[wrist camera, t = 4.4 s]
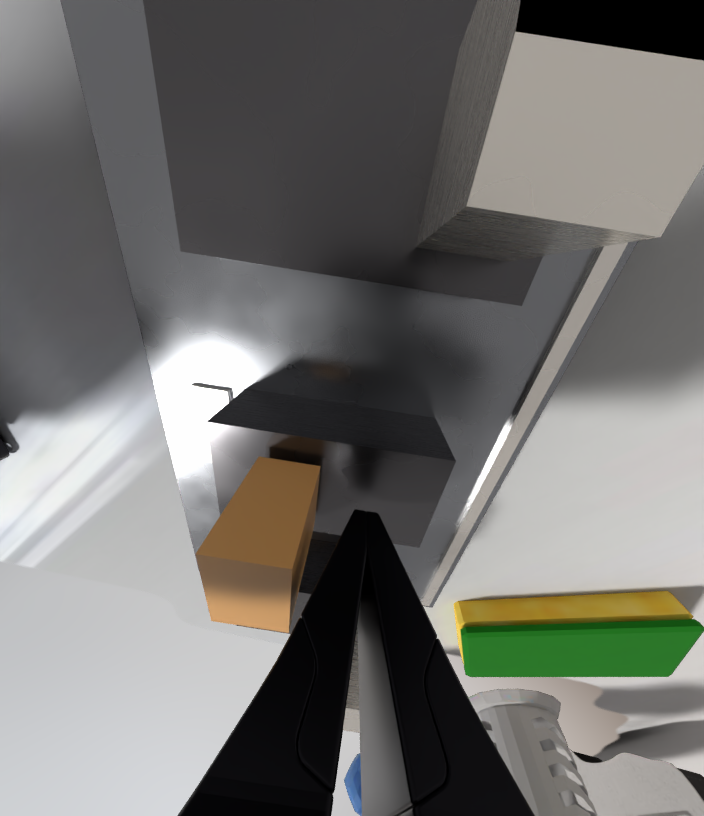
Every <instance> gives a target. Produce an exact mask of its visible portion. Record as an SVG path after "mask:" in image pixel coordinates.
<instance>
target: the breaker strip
mask: <svg viewBox="0 0 704 816" xmlns="http://www.w3.org/2000/svg"><path fill="white" fill-rule="evenodd" d="M61 4H62V8H63V12H64V17H65V21H66V25H67V29H68V33H69V37H70V41H71V45H72V50H73V54H74V58H75V62H76V66H77V70H78V74H79V78H80V82H81V87H82V91H83V95H84V99H85V103H86V107H87V111H88V115H89V120H90V124H91V128H92V132H93V136H94V140H95V144H96V148H97V153H98V157H99V161H100V165H101V169H102V173H103V177H104V181H105V186H106V190H107V194H108V198H109V202H110V206H111V210H112V214H113V218H114V223H115V227H116V231H117V235H118V239H119V243H120V247H121V251H122V256H123V260H124V264H125V268H126V272H127V276H128V280H129V284H130V289H131V293H132V297H133V301H134V305H135V309H136V313H137V317H138V322H139V326H140V330H141V334H142V338H143V342H144V346H145V350H146V354H147V359H148V363H149V367H150V371H151V375H152V379H153V383H154V387H155V392H156V396H157V400H158V404H159V408H160V412H161V416H162V420H163V425H164V429H165V433H166V437H167V441H168V445H169V449H170V453H171V458H172V462H173V466H174V470H175V474H176V478H177V482H178V486H179V490H180V495H181V499H182V503H183V507H184V511H185V515H186V519H187V523H188V528H189V532H190V536H191V540H192V544H193V548H194V552H195V556H196V552H197V551H198V549H199V548H200V546H201V545H202V543H203V542H204V540H205V539H206V537H207V535H208V534H209V532H210V531H211V529H212V528H213V526H214V525H215V523H216V522H217V520H218V519H219V517H220V515H221V514H222V512H223V511H224V509H225V508H226V506H227V505H228V503H229V502H230V500H231V499H232V497H233V495H234V494H235V492H236V491H237V489H238V488H239V486H240V485H241V483H242V482H243V480H244V478H245V477H246V475H247V474H248V472H249V471H250V469H251V468H252V466H253V465H254V463H255V462H256V460H257V458H258V457H266V458H272V459H278V460H285V461H291V462H297V463H304V464H310V465H316V466H321V467H320V477H319V486H318V495H317V505H316V514H315V523H314V528H313V532H312V537H311V541H310V545H309V549H308V554H307V558H306V562H305V566H304V571H303V575H302V579H301V583H300V588H299V592H298V596H297V600H296V604H295V609H294V613H293V617H292V621H291V626H290V630H289V633H288V634H291V633H292V631H293V629H294V627H295V625H296V623H297V621H298V619H299V618H301V613H302V611H303V609H304V608H305V606H306V604H307V602H308V600H309V598H310V596H311V594H312V592H313V590H314V588H315V586H316V584H317V582H318V580H319V578H320V576H321V574H322V572H323V570H324V568H325V566H326V564H327V562H328V560H329V558H330V556H331V554H332V552H333V550H334V548H335V546H336V544H337V542H338V540H339V538H340V536H341V534H342V532H343V530H344V529H345V527H346V525H347V523H348V521H349V519H350V517H351V515H352V513H353V511H354V510H355V509H358V510H364V511H371V512H377V513H378V514H379V515H380V517H381V519H382V521H383V524H384V526H385V528H386V530H387V532H388V534H389V536H390V538H391V540H392V542H393V544H394V547H395V549H396V551H397V553H398V555H399V557H400V559H401V561H402V563H403V565H404V567H405V570H406V572H407V574H408V576H409V578H410V580H411V582H412V584H413V586H414V588H415V590H416V593H417V595H418V597H419V599H420V601H421V603H422V605H423V606H426V607H433V605H434V603H435V602H436V600H437V598H438V596H439V595H440V593H441V591H442V589H443V587H444V586H445V584H446V582H447V580H448V579H449V577H450V575H451V573H452V571H453V570H454V568H455V566H456V564H457V563H458V561H459V559H460V557H461V555H462V554H463V552H464V550H465V548H466V546H467V545H468V543H469V541H470V539H471V538H472V536H473V534H474V532H475V530H476V529H477V527H478V525H479V523H480V522H481V520H482V518H483V516H484V514H485V513H486V511H487V509H488V507H489V506H490V504H491V502H492V500H493V498H494V497H495V495H496V493H497V491H498V490H499V488H500V486H501V484H502V482H503V481H504V479H505V477H506V475H507V473H508V472H509V470H510V468H511V466H512V465H513V463H514V461H515V459H516V457H517V456H518V454H519V452H520V450H521V449H522V447H523V445H524V443H525V441H526V440H527V438H528V436H529V434H530V433H531V431H532V429H533V427H534V425H535V424H536V422H537V420H538V418H539V417H540V415H541V413H542V411H543V409H544V408H545V406H546V404H547V402H548V400H549V399H550V397H551V395H552V393H553V392H554V390H555V388H556V386H557V384H558V383H559V381H560V379H561V377H562V376H563V374H564V372H565V370H566V368H567V367H568V365H569V363H570V361H571V360H572V358H573V356H574V354H575V352H576V351H577V349H578V347H579V345H580V343H581V342H582V340H583V338H584V336H585V335H586V333H587V331H588V329H589V327H590V326H591V324H592V322H593V320H594V319H595V317H596V315H597V313H598V311H599V310H600V308H601V306H602V304H603V303H604V301H605V299H606V297H607V295H608V294H609V292H610V290H611V288H612V287H613V285H614V283H615V281H616V279H617V278H618V276H619V274H620V272H621V270H622V269H623V267H624V265H625V263H626V262H627V260H628V258H629V256H630V254H631V253H632V251H633V249H634V247H635V246H636V244H637V242H638V241H640V240H646V239H653V238H659V237H661V235H662V234H663V232H664V230H665V229H666V227H667V225H668V224H669V222H670V220H671V219H672V217H673V215H674V213H675V212H676V210H677V208H678V207H679V205H680V203H681V202H682V200H683V198H684V197H685V195H686V193H687V192H688V190H689V188H690V186H691V185H692V183H693V181H694V180H695V178H696V176H697V175H698V173H699V171H700V170H701V168H702V166H703V165H704V0H61ZM196 561H197V558H196ZM197 565H198V563H197ZM198 569H199V567H198ZM237 626H241V625H237ZM244 627H247V626H244ZM250 628H254V627H250ZM256 629H260V628H256ZM263 630H267V629H263ZM269 631H273V630H269ZM276 632H279V631H276ZM282 633H286V632H282ZM343 730H346V731H353V732H358V733H360V715H359V672H358V629H357V631H356V638H355V645H354V653H353V660H352V667H351V674H350V681H349V689H348V696H347V703H346V710H345V718H344V725H343Z"/></svg>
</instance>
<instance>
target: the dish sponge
mask: <svg viewBox="0 0 704 816" xmlns="http://www.w3.org/2000/svg"><path fill="white" fill-rule="evenodd" d="M454 611H455V619H456V628H457V637H458V645H459V649H460V653H461V657H462V661H463V664H464V669H465V673H466V675H468V676H470V677H668V676H670V675H671V674H672V673H673V672H674V670H675V669H676V668H677V666H678V665H679V664H680V662H681V661H682V660H683V658H684V657H685V656H686V654H687V653H688V652H689V650H690V649H691V648H692V646H693V645H694V644H695V642H696V641H697V640H698V638H699V637H700V636H701V634H702V633H703V632H704V627H703V626H702V625H701V624H700V623H699V622H698V621H696V620H695V619H692V618H693V615H692V614H691V613H690V612H689V611H688V610H687V609H686V608H685V607H684V606H683V605H682V604H681V603H680V602H679V601H678V600H677V599H676V598H675V597H674V596H673V595H672V594H671V593H670V592H668V591H654V592H634V593H613V594H593V595H573V596H552V597H532V598H512V599H492V600H471V601H458V602H456V603H454Z"/></svg>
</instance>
